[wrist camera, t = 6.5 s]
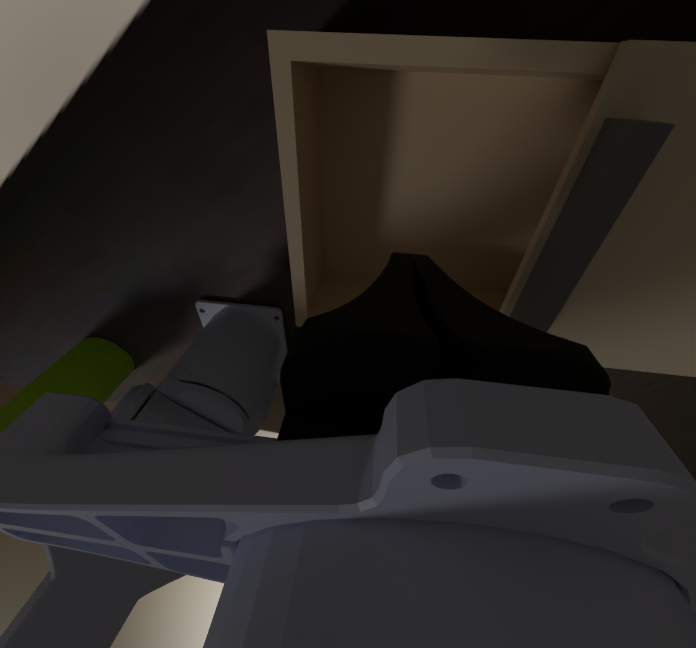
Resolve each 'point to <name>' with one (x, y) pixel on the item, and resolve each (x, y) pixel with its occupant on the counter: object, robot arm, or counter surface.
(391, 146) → the carton
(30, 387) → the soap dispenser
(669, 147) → the carton lid
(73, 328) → the counter surface
